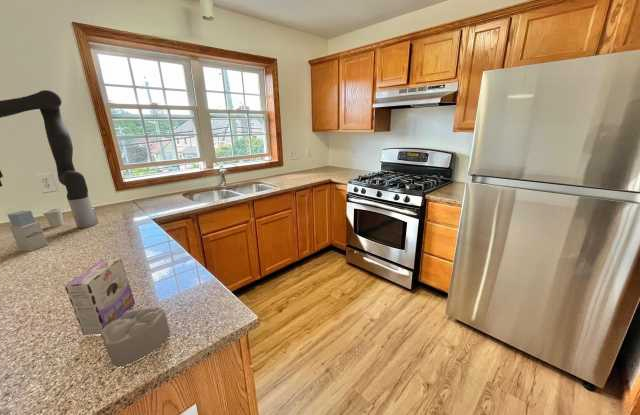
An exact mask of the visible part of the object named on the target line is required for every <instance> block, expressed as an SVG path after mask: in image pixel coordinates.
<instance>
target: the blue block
mask: <svg viewBox="0 0 640 415" xmlns="http://www.w3.org/2000/svg"><path fill="white" fill-rule="evenodd" d="M7 217H8V220H9V221H10V224H11V227H12V226H14V227H22V226H26V225H29V224H32V223H35V222H36V220H35V217H34V216H33V213H32V210H19V211H16V212H11V213H8V214H7Z"/></svg>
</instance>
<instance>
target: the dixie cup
mask: <svg viewBox="0 0 640 415" xmlns="http://www.w3.org/2000/svg"><path fill="white" fill-rule="evenodd" d="M42 214H43V217H44V218H45V219H46V221H47V223H48V224H49V225H50V228H51V227H52V228H53V229H55V228H59V226H60V227H62V225H63V226H64V225H65V224H64V218H63V212H62V208H51V209H48V210H43V211H42ZM54 227H55V228H54Z"/></svg>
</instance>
